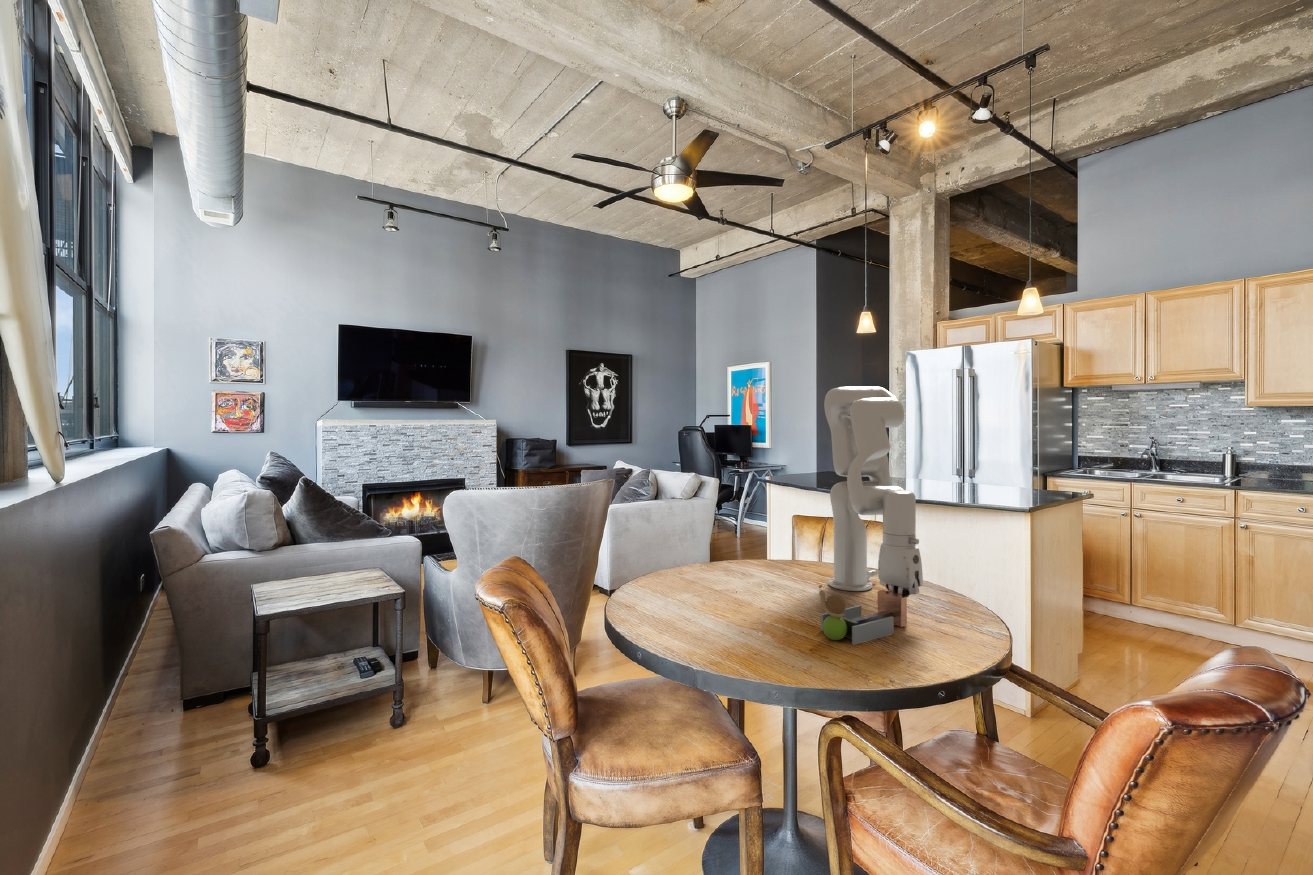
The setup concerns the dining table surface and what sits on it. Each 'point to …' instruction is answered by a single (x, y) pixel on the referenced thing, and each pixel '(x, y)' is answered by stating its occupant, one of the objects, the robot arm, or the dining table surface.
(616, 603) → the dining table surface
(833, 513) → the robot arm
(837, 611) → the snail figurine
